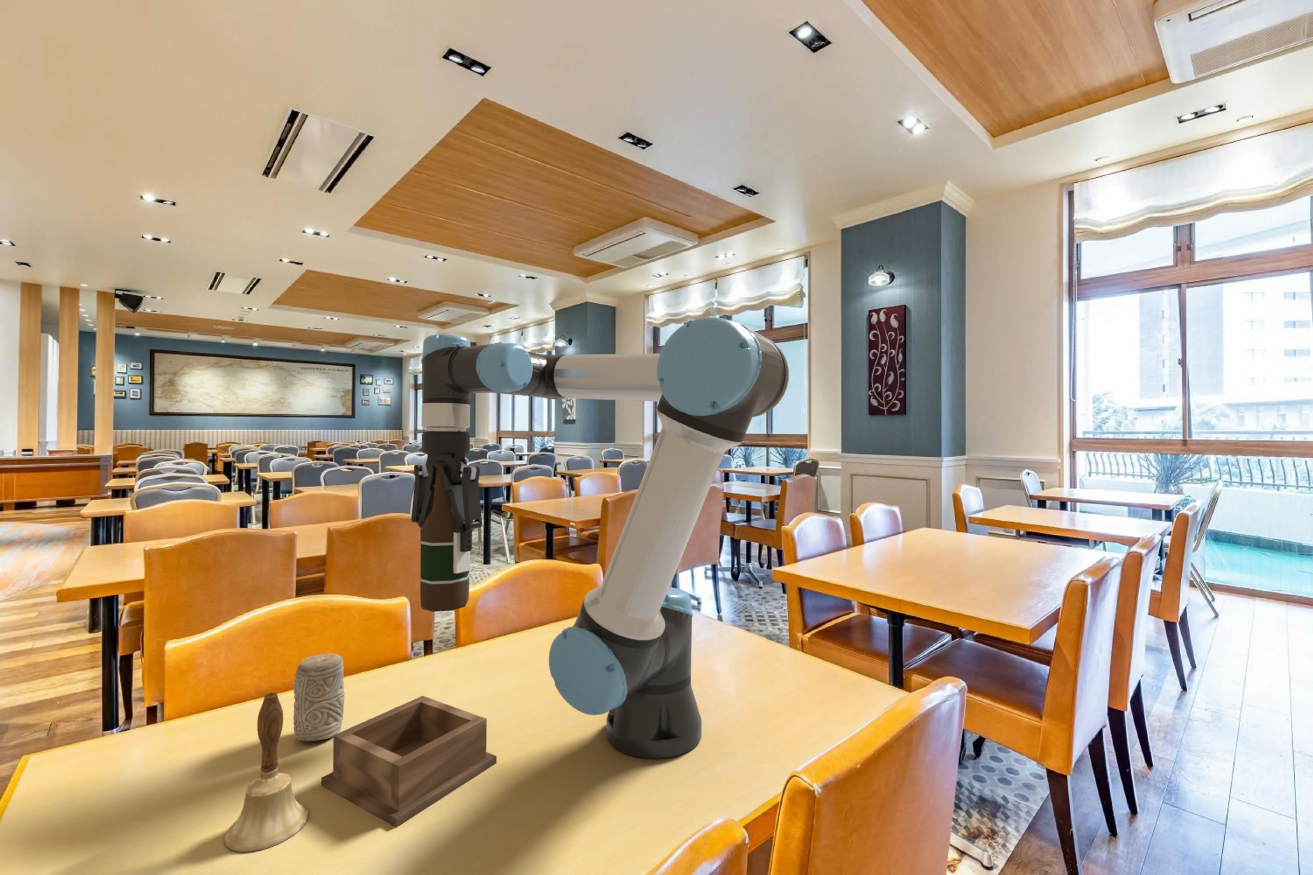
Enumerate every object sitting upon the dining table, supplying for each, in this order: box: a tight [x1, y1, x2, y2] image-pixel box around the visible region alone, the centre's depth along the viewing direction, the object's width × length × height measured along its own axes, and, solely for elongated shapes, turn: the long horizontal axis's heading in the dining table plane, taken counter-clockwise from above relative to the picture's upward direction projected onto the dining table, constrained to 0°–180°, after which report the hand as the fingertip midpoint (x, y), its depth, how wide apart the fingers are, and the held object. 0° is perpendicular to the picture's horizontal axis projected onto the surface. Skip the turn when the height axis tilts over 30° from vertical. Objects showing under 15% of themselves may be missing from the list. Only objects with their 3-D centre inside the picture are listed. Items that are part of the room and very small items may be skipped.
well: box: [320, 695, 497, 828], centre depth 80 cm, size 16×16×6 cm
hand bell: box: [224, 692, 309, 853], centre depth 69 cm, size 8×8×16 cm
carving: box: [292, 652, 345, 742], centre depth 90 cm, size 6×8×12 cm
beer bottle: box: [419, 461, 470, 613], centre depth 96 cm, size 8×8×24 cm
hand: (445, 568), depth 96 cm, fingers closed on beer bottle, 7 cm apart
